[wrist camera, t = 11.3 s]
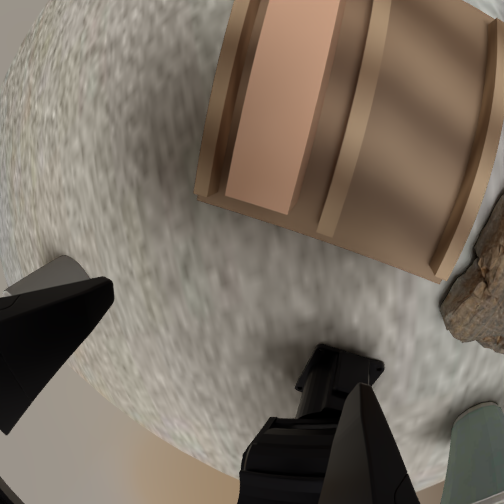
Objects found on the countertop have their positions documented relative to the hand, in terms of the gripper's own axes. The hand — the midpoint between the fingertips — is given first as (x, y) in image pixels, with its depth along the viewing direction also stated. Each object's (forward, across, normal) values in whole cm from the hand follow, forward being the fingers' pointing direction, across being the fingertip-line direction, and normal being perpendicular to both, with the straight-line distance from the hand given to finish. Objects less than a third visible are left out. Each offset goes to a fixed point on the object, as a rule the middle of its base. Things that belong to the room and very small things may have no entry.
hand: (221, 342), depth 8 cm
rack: (+12, -2, -10) cm, 16 cm away
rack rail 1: (+12, +6, -10) cm, 17 cm away
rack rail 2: (+12, -10, -10) cm, 19 cm away
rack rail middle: (+11, -2, -10) cm, 15 cm away
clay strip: (+11, +2, -10) cm, 15 cm away
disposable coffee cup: (+12, -28, +14) cm, 34 cm away
